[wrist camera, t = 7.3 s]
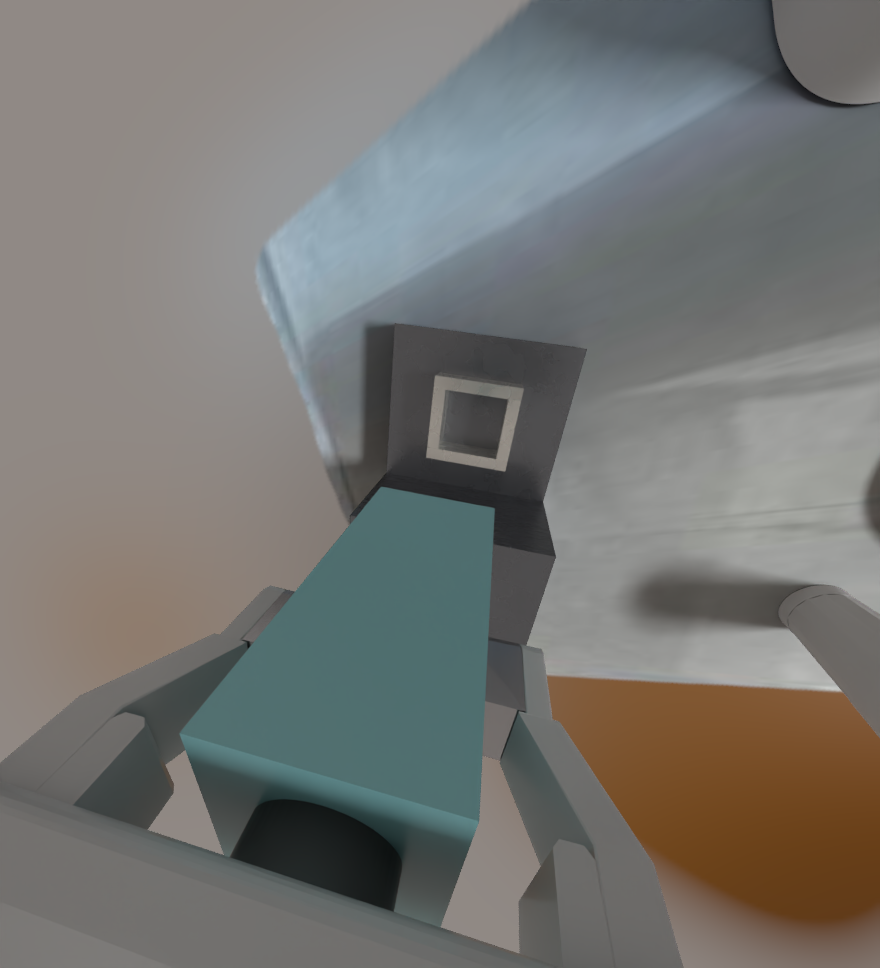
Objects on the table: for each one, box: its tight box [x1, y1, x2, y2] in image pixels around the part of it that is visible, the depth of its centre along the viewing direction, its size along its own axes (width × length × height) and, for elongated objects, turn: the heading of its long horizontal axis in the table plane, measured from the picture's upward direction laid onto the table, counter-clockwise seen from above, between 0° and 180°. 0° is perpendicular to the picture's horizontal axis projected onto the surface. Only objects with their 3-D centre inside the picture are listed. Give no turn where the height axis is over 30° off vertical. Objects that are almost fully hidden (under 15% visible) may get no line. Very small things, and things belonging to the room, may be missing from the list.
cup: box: [778, 585, 880, 738], centre depth 30 cm, size 8×8×12 cm
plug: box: [179, 487, 495, 927], centre depth 8 cm, size 5×4×10 cm
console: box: [350, 323, 587, 645], centre depth 29 cm, size 28×16×14 cm, turn 173°
